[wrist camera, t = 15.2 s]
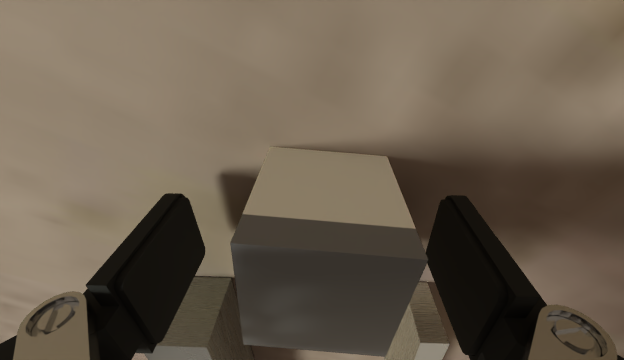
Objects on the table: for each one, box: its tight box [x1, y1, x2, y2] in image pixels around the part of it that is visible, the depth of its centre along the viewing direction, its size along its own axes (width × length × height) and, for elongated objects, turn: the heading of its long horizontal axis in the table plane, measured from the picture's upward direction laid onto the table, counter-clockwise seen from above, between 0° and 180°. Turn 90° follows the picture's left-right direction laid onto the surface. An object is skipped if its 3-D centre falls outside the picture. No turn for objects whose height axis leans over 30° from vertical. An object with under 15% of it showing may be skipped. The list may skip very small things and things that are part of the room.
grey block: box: [230, 147, 428, 357], centre depth 9 cm, size 4×4×5 cm
